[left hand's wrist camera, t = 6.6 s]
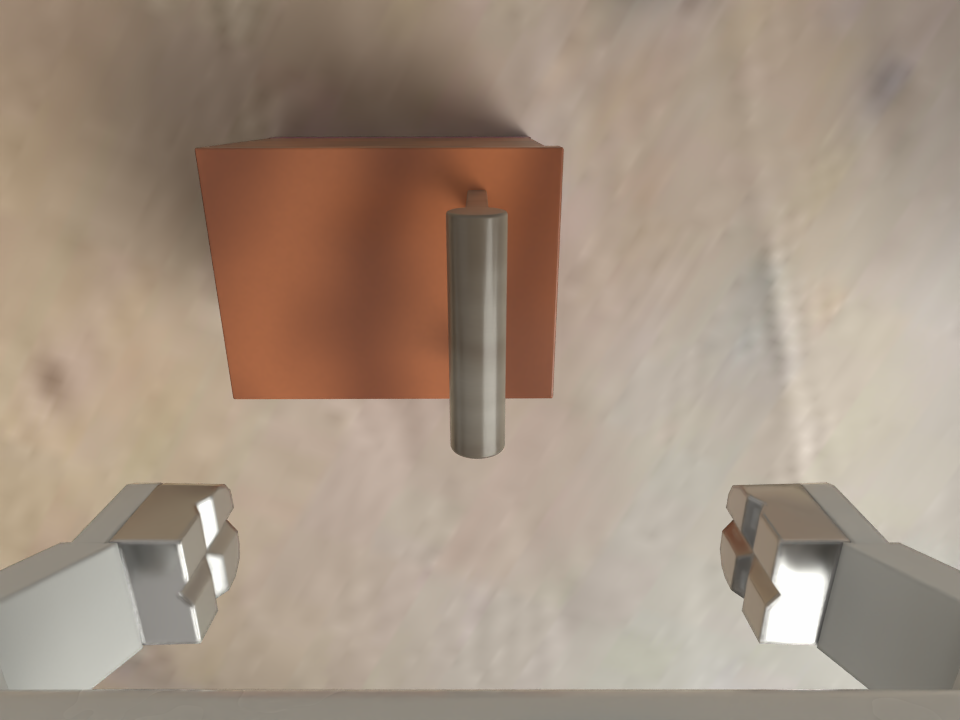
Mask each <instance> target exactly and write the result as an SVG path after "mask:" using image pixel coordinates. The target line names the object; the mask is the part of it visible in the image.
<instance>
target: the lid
mask: <svg viewBox="0 0 960 720" xmlns="http://www.w3.org/2000/svg"><path fill="white" fill-rule="evenodd" d="M563 153H564V149H563V148H562V147H560V146H241V147H200V148H195V154H196V160H197V167H198V173H199V180H200V186H201V192H202V199H203V205H204V212H205V218H206V225H207V231H208V238H209V244H210V250H211V257H212V263H213V270H214V276H215V283H216V289H217V296H218V302H219V309H220V315H221V321H222V328H223V334H224V341H225V347H226V354H227V360H228V367H229V373H230V379H231V386H232V392H233V398H234V399H441V398H450V441H451V448H452V450H453V451H454V452H455V453H457V454H458V455H460V456H463V457H467V458H474V459H481V458H488V457H492V456H495V455H497V454H498V453H500V452H501V451H502V450H503V448H504V445H505V398H552V397H553V383H554V360H555V337H556V314H557V291H558V268H559V245H560V222H561V199H562V176H563Z"/></svg>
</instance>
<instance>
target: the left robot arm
mask: <svg viewBox="0 0 960 720" xmlns="http://www.w3.org/2000/svg"><path fill="white" fill-rule="evenodd" d="M233 508H234V506H233V501H232V496H231V491H230V489H229V488H228V487H227V486H226V485H225V484H186V483H164V484H163V483H133V484H128V485H126V486H125V487H124V488H123V489H122V490H121V491H120V492H119V493H118V494H117V495H116V496H115V497H114V498H113V499H112V500H111V502H110V503H109V504H108V505H107V506H106V507H105V508H104V509H103V510H102V511H101V512H100V513H99V514H98V515H97V516H96V517H95V518H94V519H93V520H92V521H91V522H90V523H89V524H88V525H87V527H86V528H85V529H84V530H83V531H82V532H81V533H80V534H79V535H78V536H77V537H76V538H75V539H74V540H73V541H72V542H71V543H59V544H57V545H55V546H52V547H50V548H48V549H46V550H44V551H41V552H39V553H37V554H35V555H33V556H31V557H28V558H26V559H24V560H22V561H20V562H18V563H15V564H13V565H11V566H9V567H7V568H4V569H2V570H0V720H960V570H958V569H955V568H953V567H951V566H949V565H947V564H944V563H942V562H940V561H938V560H936V559H934V558H931V557H929V556H927V555H925V554H923V553H921V552H918V551H916V550H914V549H912V548H910V547H908V546H905V545H903V544H901V543H889V542H888V541H887V540H886V539H885V538H884V537H883V536H882V535H881V534H880V533H879V532H878V531H877V530H876V529H875V528H874V526H873V525H872V524H871V523H870V522H869V521H868V520H867V519H866V518H865V517H864V516H863V515H862V514H861V513H860V512H859V511H858V510H857V509H856V508H855V507H854V506H853V505H852V504H851V502H850V501H849V500H848V499H847V498H846V497H845V496H844V495H843V494H842V493H841V492H840V491H839V490H838V489H837V488H836V487H835V486H834V485H831V484H829V483H827V482H824V483H797V484H764V485H733V486H732V488H731V490H730V492H729V494H728V500H727V505H726V508H727V510H728V512H729V513H730V515H731V516H732V518H733V521H732V522H731V523H730V524H729V525H728V526H727V527H726V528H725V529H724V530H723V531H722V537H721V545H720V554H721V565H722V569H723V572H724V576H725V579H726V581H727V583H728V585H729V587H730V589H731V590H732V591H734V592H735V593H736V594H738V595H739V596H741V597H742V598H744V602H743V608H742V612H743V613H744V615H745V617H746V619H747V621H748V623H749V625H750V627H751V628H752V630H753V632H754V634H755V636H756V638H757V640H758V641H759V643H760V644H796V645H818V646H817V648H818V649H819V650H821V651H822V652H823V653H824V654H826V655H827V656H828V657H829V658H831V659H832V660H833V661H834V662H836V663H837V664H838V665H839V666H841V667H842V668H843V669H844V670H846V671H847V672H848V673H849V674H851V675H852V676H853V677H854V678H856V679H857V680H858V681H859V682H861V683H862V684H863V685H864V686H866V687H867V688H868V689H570V690H277V689H92V688H93V687H95V686H96V685H97V684H98V683H100V682H101V681H102V680H103V679H105V678H106V677H107V676H108V675H110V674H111V673H112V672H113V671H115V670H116V669H117V668H118V667H120V666H121V665H122V664H123V663H125V662H126V661H127V660H128V659H130V658H131V657H132V656H133V655H135V654H136V653H137V652H138V651H140V650H141V649H142V648H143V646H142V645H164V644H199V643H201V642H202V640H203V638H204V636H205V634H206V632H207V630H208V628H209V627H210V625H211V623H212V621H213V619H214V617H215V615H216V613H217V612H218V608H217V602H216V598H218V597H219V596H221V595H222V594H224V593H225V592H226V591H228V590H229V589H230V587H231V585H232V583H233V581H234V579H235V576H236V572H237V568H238V563H239V558H240V543H239V536H238V531H237V530H236V529H235V528H234V527H233V526H232V525H231V524H230V523H229V522H228V521H227V518H228V516H229V515H230V513H231V512H232V510H233Z"/></svg>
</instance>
